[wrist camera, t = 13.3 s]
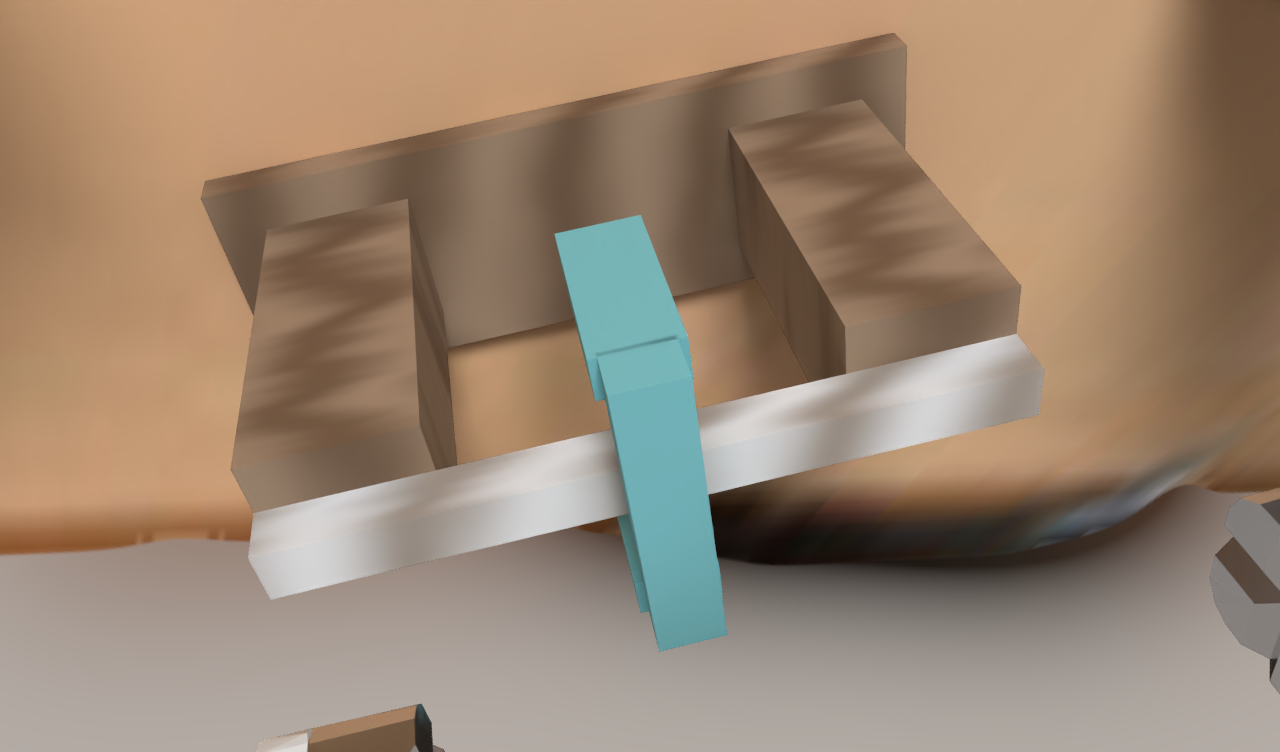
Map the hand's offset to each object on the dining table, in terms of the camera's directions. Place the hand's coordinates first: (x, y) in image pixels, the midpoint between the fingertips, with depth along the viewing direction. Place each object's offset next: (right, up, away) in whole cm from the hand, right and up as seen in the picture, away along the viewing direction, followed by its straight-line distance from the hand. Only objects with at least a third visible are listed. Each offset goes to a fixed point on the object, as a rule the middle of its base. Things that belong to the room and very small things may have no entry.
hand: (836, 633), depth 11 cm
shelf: (-5, +10, +39) cm, 40 cm away
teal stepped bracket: (-3, +3, +30) cm, 30 cm away
